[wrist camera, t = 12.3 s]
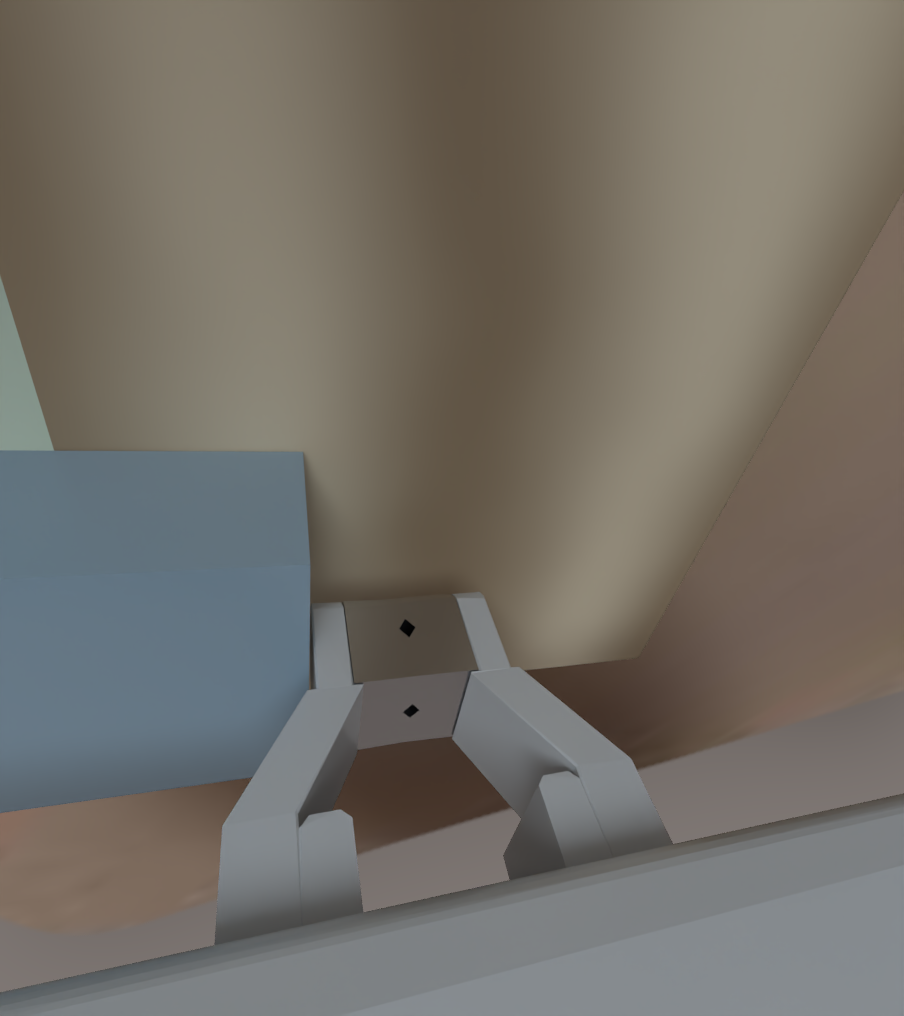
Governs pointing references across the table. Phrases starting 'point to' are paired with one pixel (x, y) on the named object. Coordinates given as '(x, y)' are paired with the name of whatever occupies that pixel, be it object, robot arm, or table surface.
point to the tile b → (147, 618)
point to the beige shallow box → (450, 266)
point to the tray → (18, 392)
